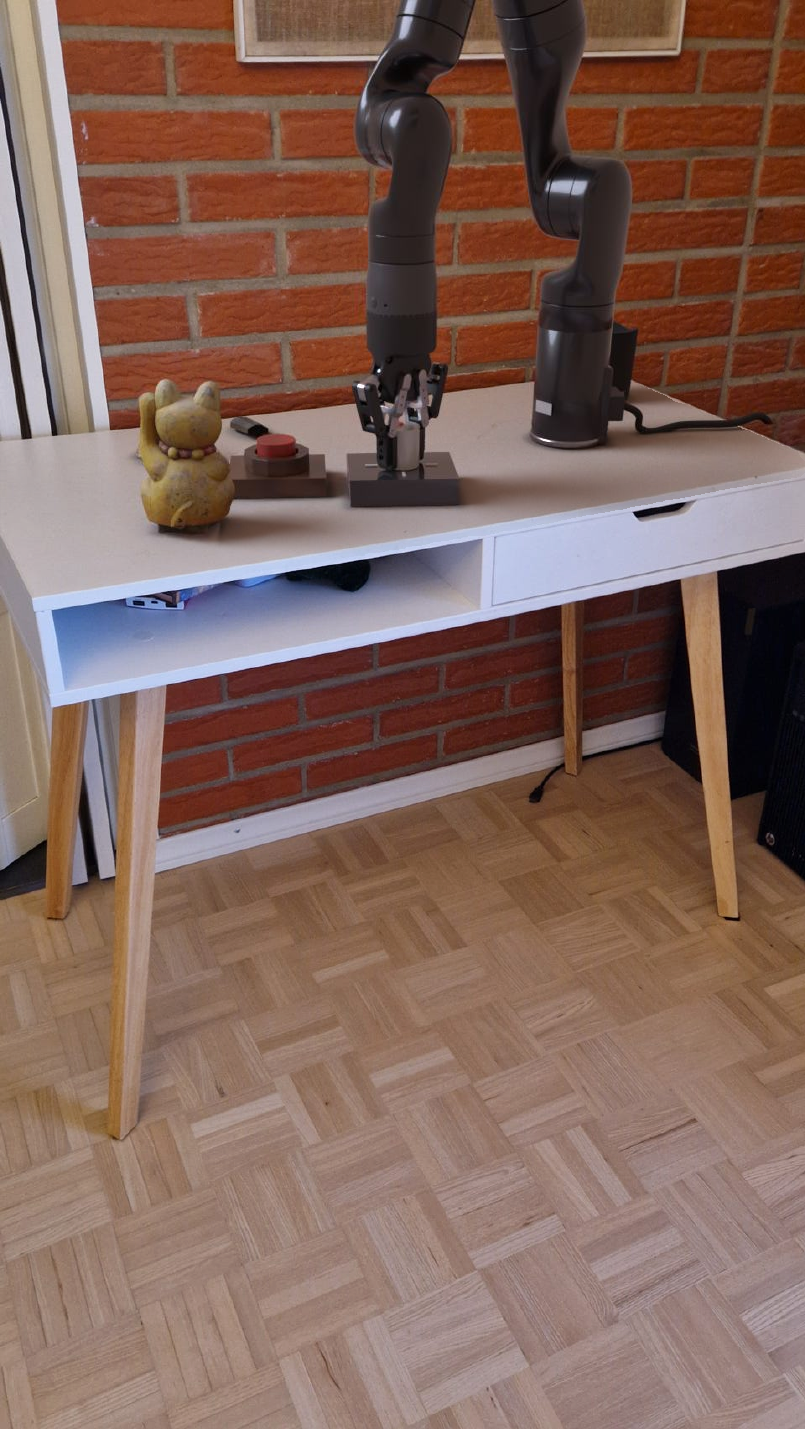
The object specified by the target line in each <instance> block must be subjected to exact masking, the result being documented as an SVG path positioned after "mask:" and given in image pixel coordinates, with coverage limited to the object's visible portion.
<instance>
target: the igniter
mask: <svg viewBox="0 0 805 1429" xmlns="http://www.w3.org/2000/svg"><path fill="white" fill-rule="evenodd" d="M229 458H230V459H229V464H230V467H231V468H230V472H229V474H228V476H229V477H230V478H231V479H232V481H233V483H234V489H235V491H234V498H233V499H277V498H279V499H280V498H327V496H328V488H327V486H328V485H327V469H326V467H327V466H326V454H323V453H313V454H312V453H311V454H310V448H309V447H307V446H305V445H303V444H301V443H297V442H296V454H295V455H293V456H288V457H283V458H269V457H263V456H259V455H257V443H255V444H252V445H250V446H249V447H247V448H244V451H243V455H242V454H241V455H239V454H238V455H230V457H229Z"/></svg>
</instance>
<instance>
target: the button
mask: <svg viewBox="0 0 805 1429" xmlns="http://www.w3.org/2000/svg"><path fill="white" fill-rule="evenodd" d="M296 440H297V439H296V437H295V436H293V435H290V434H286V433H270V434H269V433H268V434H263V435H261V436H258V438H256V444H257V455H259V456H263V457H269V458H283V457H288V456H293V455H295V454H296V443H297V441H296Z"/></svg>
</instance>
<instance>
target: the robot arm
mask: <svg viewBox="0 0 805 1429" xmlns="http://www.w3.org/2000/svg"><path fill="white" fill-rule="evenodd" d="M476 1H477V0H399V3H398V6H397V9H396V13H395V16H394V17H395V19H394V21H393V24H392V25H393V26H392V30H391V34H390V36H389V38H388V40H387V42H386V44H385V46H384V47H383V50H382V51H381V52H380V55H379V56H378V58H377V61H376V63H375V65H374V67H373V68H372V71H371V72H370V75H369V77H368V79H367V80H366V83H365V85H364V87H363V89H362V92H361V94H360V97H359V98H358V102H357V105H356V109H355V113H354V118H353V138H354V144H355V147H356V150H357V152H358V154H359V156H360V157H361V159H363V161H364V162H366V163H367V164H368V165H370V166H372V167H374V168H377V169H382V170H390V171H391V175H390V181H389V187H388V191H387V194H386V196H383V197H380V198H378V199H376V200H374V201H373V202H372V203H371V204H370V206H369V210H368V214H367V215H368V216H367V271H366V277H365V278H366V279H365V310H366V311H365V319H366V320H365V321H366V323H365V324H366V325H365V326H366V327H365V328H366V329H365V330H366V334H365V335H366V348H367V350H368V352H370V354H371V356H372V366H371V368H370V372H369V373H370V375H369V376H368V377H366V378H365V379H364V380H362V381H360V380H354V381H353V382H352V384H351V390H352V394H353V399H354V402H355V406H356V411H357V413H358V418H359V421H360V426H361V429H362V431H363V432H365V433H368V434H373V435H374V436H375V438H376V439H375V440H376V442H375V444H376V445H375V446H376V447H375V448H376V453H377V463H378V465H379V467H380V468H382V469H386V470H390V471H391V470H394V469H396V468H397V437H395V436H396V433H397V428H398V422H399V421H400V418H402V417H403V416H404V417H405V421H410V422H415V423H417V424H419V425H420V447H419V460H422V459H423V458H424V452H426V451H425V450H426V428H427V427H428V426H429V424H430V420H431V419H438V417H439V415H440V411H441V407H442V406H441V405H442V401H443V397H444V392H445V387H446V383H447V377H448V372H449V366H448V364H445V363H441V362H435V361H432V358H431V355H430V354H432V353H434V352H435V351H436V349H437V342H438V340H437V339H438V274H437V265H436V264H437V263H436V262H437V260H436V259H437V258H436V256H437V252H436V251H437V214H438V211H439V208H440V204H441V201H442V198H443V194H444V189H445V184H446V180H447V176H448V172H449V168H450V163H451V158H452V152H453V144H454V143H453V142H454V140H453V138H454V137H453V128H452V127H453V126H452V123H451V118H450V115H449V113H448V111H447V108H446V107H445V105H444V103H443V102H442V101H441V100H440V99H439V98H437V97H436V96H435V95H433V94H430V93H428V91H429V89H430V87H431V85H432V83H434V81H435V80H437V79H439V78H441V77H443V76H445V75H447V74H449V73H451V72H452V71H453V70H454V69H455V68H456V66H457V64H458V62H459V59H460V57H461V55H462V51H463V47H464V46H465V42H466V41H465V40H466V37H467V34H468V31H469V27H470V23H471V20H472V16H473V14H474V13H473V12H474V9H475V6H476V3H477V2H476ZM490 3H491V7H492V11H493V16H494V20H495V21H494V22H495V25H496V30H497V34H498V37H499V42H500V46H501V49H502V53H503V58H504V62H505V65H506V69H507V73H508V77H509V82H510V87H511V91H512V97H513V102H514V107H515V113H516V117H517V123H518V128H519V134H520V140H521V141H520V142H521V148H522V157H523V164H524V172H525V179H526V187H527V193H528V194H527V195H528V200H529V205H530V206H529V207H530V210H531V213H532V217H533V220H534V222H535V224H536V226H537V228H538V229H539V230H540V231H541V232H542V233H543V234H544V235H546V236H548V237H551V238H555V239H560V240H567V241H576V242H578V243H577V249H576V254H575V256H574V259H573V261H572V262H571V263H570V264H568V265H566V266H564V267H562V268H559V269H555V270H552V271H548V272H547V273H545V274H544V275H543V276H542V278H541V280H540V286H539V300H538V301H539V302H538V317H537V333H536V334H537V335H536V347H535V348H536V349H535V363H534V364H535V365H534V381H533V395H532V411H531V412H532V413H531V421H530V422H531V424H530V425H531V426H530V427H531V428H530V429H529V430H530V431H529V432H530V433H529V437H530V439H531V440H532V441H533V442H535V443H538V444H540V445H543V446H547V447H553V448H560V449H582V448H590V447H594V446H598V445H607V440H608V432H609V431H608V430H609V422H623V421H624V412H628V413H631V414H632V415H633V416H634V417H635V421H634V428H635V430H636V431H637V432H638V433H639V434H641V435H651V434H652V435H653V434H663V433H668V432H669V433H670V432H673V431H678V430H683V429H722V428H723V429H724V428H725V429H726V428H736V427H741V426H743V425H746V424H749V423H751V422H753V421H760V422H762V423H763V424H764V425H767V426H770V425H771V426H772V425H774V422H773V420H772V419H771V417H770V416H769V415H767V414H766V413H764V412H760V411H756V412H752V413H749V414H747V415H745V416H742V417H738V418H734V419H715V420H714V419H711V420H709V419H705V420H703V419H702V420H701V419H700V420H697V419H695V420H680V421H675V422H671V423H667V424H663V425H660V426H655V427H647V426H644V425H643V422H644V413H643V412H642V411H641V409H639V408H638V407H637V406H635V405H633V404H631V403H628V402H627V401H626V400H625V396H624V395H623V394H622V393H621V392H620V391H619V390H618V389H617V388H616V387H612V379H613V368H612V367H611V366H610V365H609V362H610V350H611V340H612V329H613V321H614V317H615V305H616V298H617V297H616V296H617V289H618V286H619V282H620V281H621V277H622V273H623V268H624V264H625V263H624V262H625V255H626V248H627V240H628V234H629V228H630V220H631V213H632V206H633V183H632V182H633V181H632V176H631V173H630V170H629V168H628V167H627V165H626V164H625V162H623V161H622V160H620V159H618V158H615V157H607V156H591V155H581V154H580V155H578V154H575V153H574V151H573V149H572V147H571V142H570V138H569V131H568V124H567V103H568V100H569V96H570V93H571V90H572V87H573V85H574V83H575V79H576V78H577V77H576V76H577V74H578V71H579V68H580V65H581V62H582V59H583V56H584V52H585V48H586V44H587V39H588V38H587V37H588V24H587V16H586V12H585V5H584V0H490ZM429 396H432V398H431V403H430V397H429ZM386 404H392V405H393V406H388V405H386ZM387 415H388V420H387V423H388V425H385V424H386V421H385V420H386V416H387ZM755 614H756V607H753V608H751V607H748V610H747V615H746V623H745V629H744V634H745V635H746V636H751V635H753V634H752V633H753V627H754V620H755Z"/></svg>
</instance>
